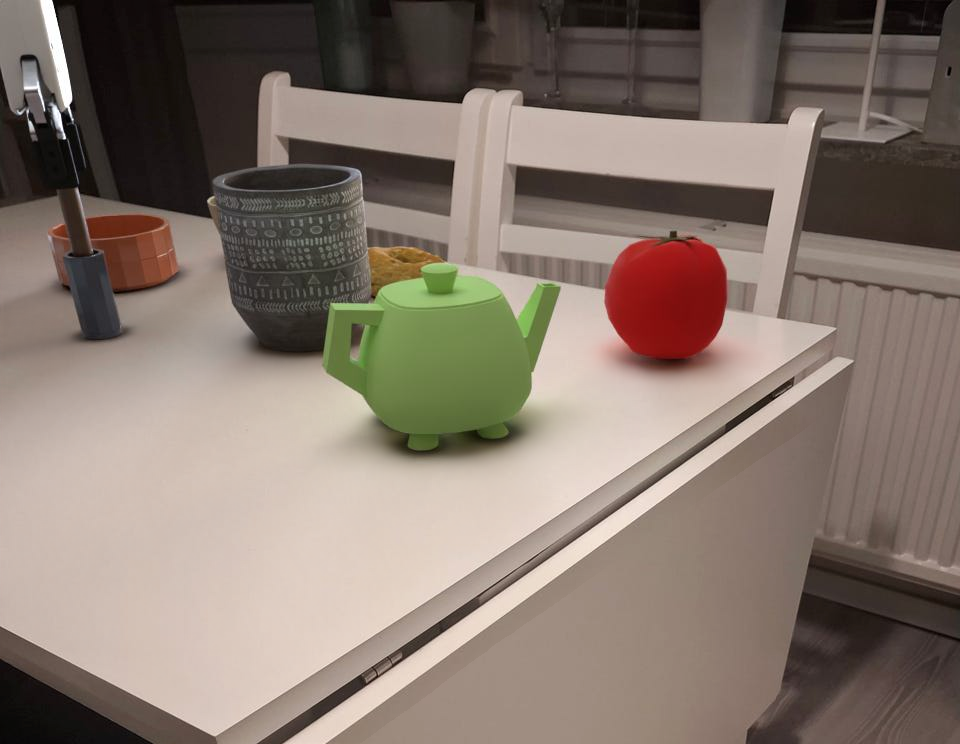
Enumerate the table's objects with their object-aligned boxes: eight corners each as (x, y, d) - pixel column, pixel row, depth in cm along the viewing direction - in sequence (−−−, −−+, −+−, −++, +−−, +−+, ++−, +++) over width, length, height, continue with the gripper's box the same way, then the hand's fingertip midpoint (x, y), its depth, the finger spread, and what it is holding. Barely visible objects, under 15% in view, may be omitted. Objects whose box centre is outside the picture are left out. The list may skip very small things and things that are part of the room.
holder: (82, 341, 105) (60, 259, 100) (84, 329, 109) (64, 250, 104) (121, 337, 106) (102, 256, 101) (123, 326, 109) (104, 247, 104)
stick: (91, 331, 106) (41, 135, 95) (92, 326, 107) (43, 132, 96) (110, 329, 106) (63, 134, 95) (111, 324, 108) (65, 131, 97)
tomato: (703, 380, 92) (718, 249, 85) (585, 365, 96) (590, 238, 89) (734, 341, 100) (750, 219, 94) (624, 329, 104) (632, 211, 97)
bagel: (414, 308, 112) (411, 262, 109) (342, 294, 117) (337, 250, 114) (468, 288, 118) (467, 244, 115) (397, 275, 123) (394, 232, 121)
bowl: (56, 299, 118) (41, 244, 115) (66, 269, 129) (53, 218, 126) (179, 288, 121) (168, 234, 117) (178, 260, 132) (169, 210, 128)
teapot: (526, 383, 92) (527, 234, 85) (589, 434, 82) (597, 271, 75) (314, 415, 87) (294, 259, 79) (353, 475, 77) (335, 303, 69)
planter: (211, 339, 105) (181, 178, 96) (319, 309, 113) (301, 158, 103) (293, 369, 97) (269, 197, 88) (403, 334, 105) (392, 173, 95)
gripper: (-20, -40, 94) (35, 167, 104) (-52, -38, 80) (15, 199, 91) (63, -43, 95) (110, 162, 105) (46, -42, 82) (101, 193, 92)
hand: (66, 179), depth 98 cm, fingers open, 9 cm apart
